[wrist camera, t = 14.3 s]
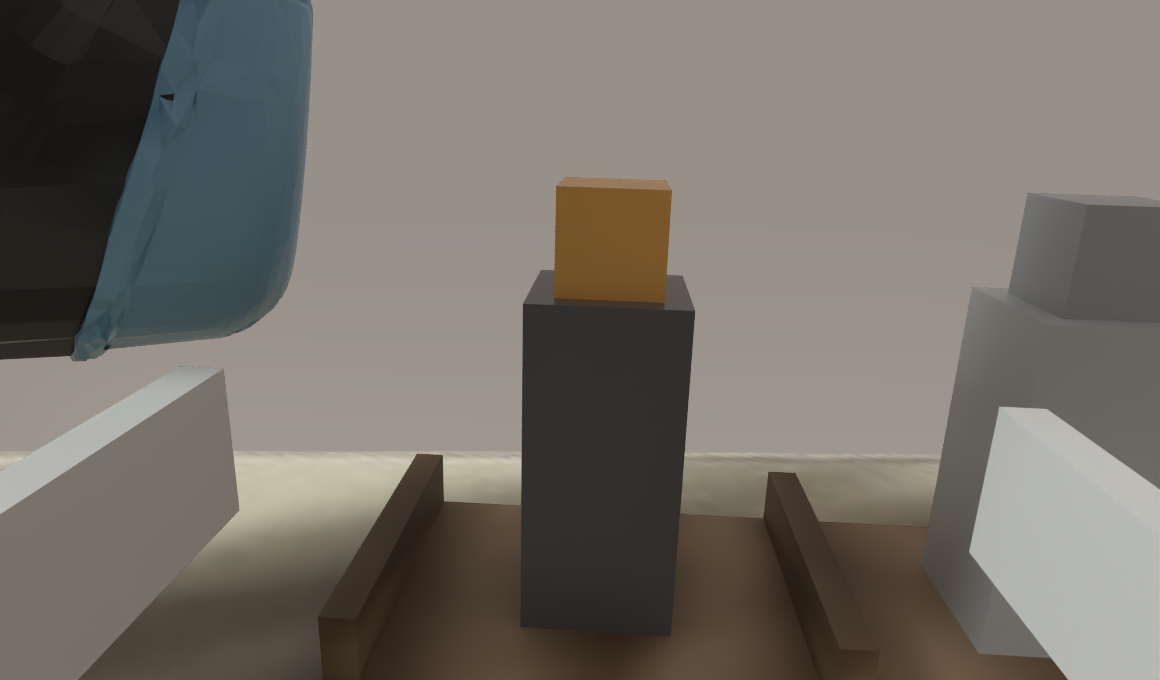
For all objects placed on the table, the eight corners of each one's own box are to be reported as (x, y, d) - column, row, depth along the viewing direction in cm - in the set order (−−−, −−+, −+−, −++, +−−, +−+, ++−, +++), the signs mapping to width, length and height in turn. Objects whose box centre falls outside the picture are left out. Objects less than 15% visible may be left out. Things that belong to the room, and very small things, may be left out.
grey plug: (979, 653, 22) (1074, 207, 19) (921, 566, 27) (989, 189, 23) (1137, 663, 22) (1265, 213, 18) (1053, 573, 26) (1143, 194, 23)
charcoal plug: (520, 627, 23) (523, 188, 19) (536, 545, 27) (542, 174, 23) (670, 636, 23) (703, 194, 19) (663, 552, 27) (689, 179, 23)
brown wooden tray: (325, 710, 21) (318, 616, 20) (419, 522, 30) (417, 453, 30) (1396, 781, 20) (1438, 685, 19) (1143, 562, 29) (1162, 491, 28)
